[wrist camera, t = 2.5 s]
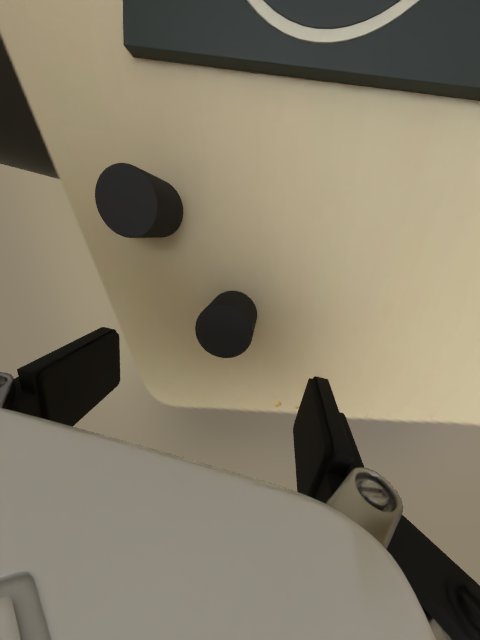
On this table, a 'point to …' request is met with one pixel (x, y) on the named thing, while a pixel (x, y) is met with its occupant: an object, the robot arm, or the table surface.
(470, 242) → the table surface
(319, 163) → the table surface
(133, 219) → the black cylinder roller
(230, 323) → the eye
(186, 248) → the table surface
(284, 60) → the face board
